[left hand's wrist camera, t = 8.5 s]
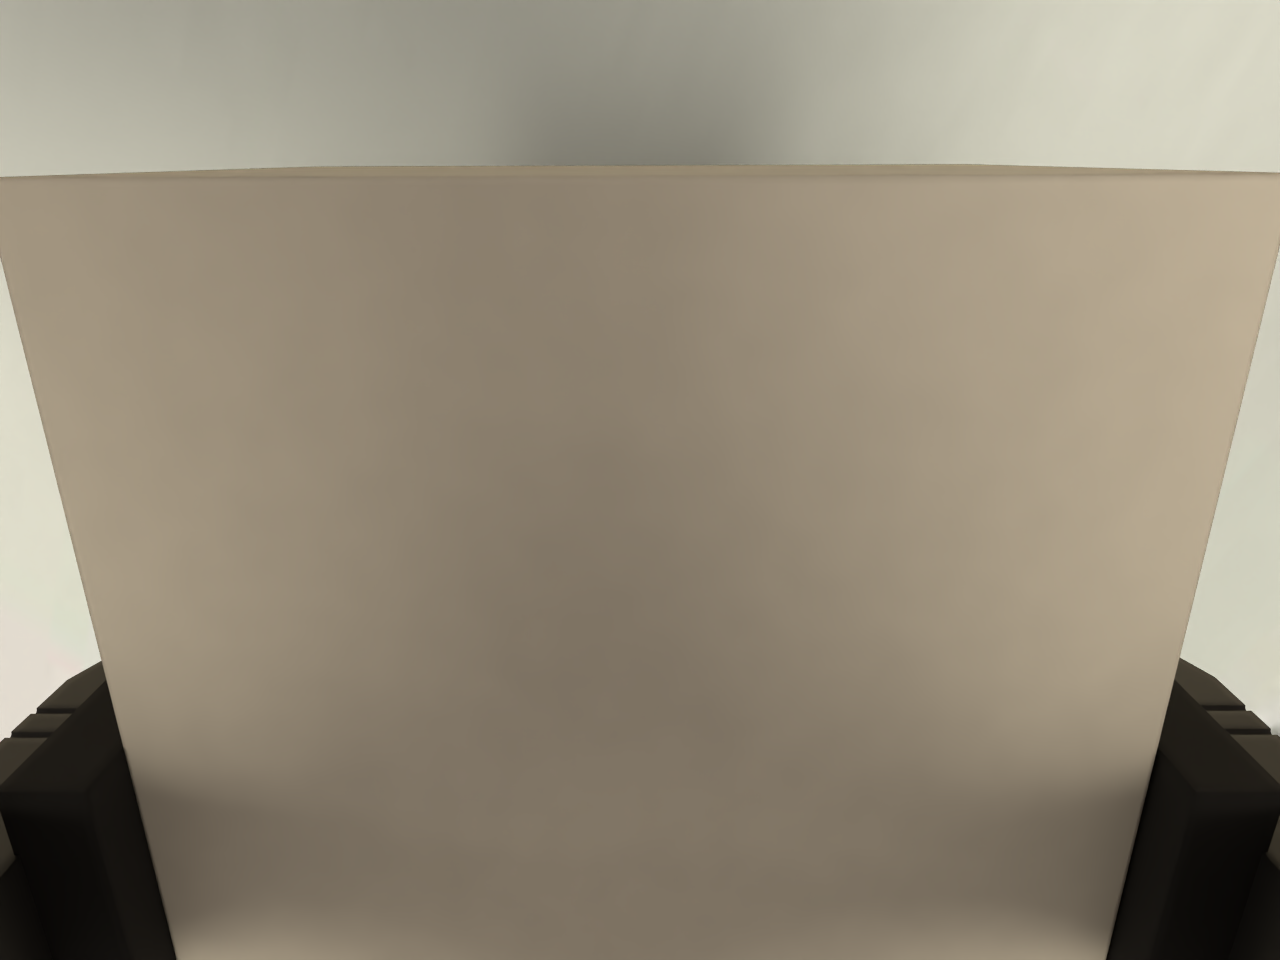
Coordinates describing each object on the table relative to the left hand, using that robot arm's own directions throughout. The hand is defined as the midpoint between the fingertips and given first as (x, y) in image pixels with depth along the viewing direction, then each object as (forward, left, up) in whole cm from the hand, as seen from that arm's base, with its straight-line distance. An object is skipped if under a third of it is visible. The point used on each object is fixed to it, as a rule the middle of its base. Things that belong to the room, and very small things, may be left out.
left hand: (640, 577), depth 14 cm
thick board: (+22, -5, -1) cm, 22 cm away
